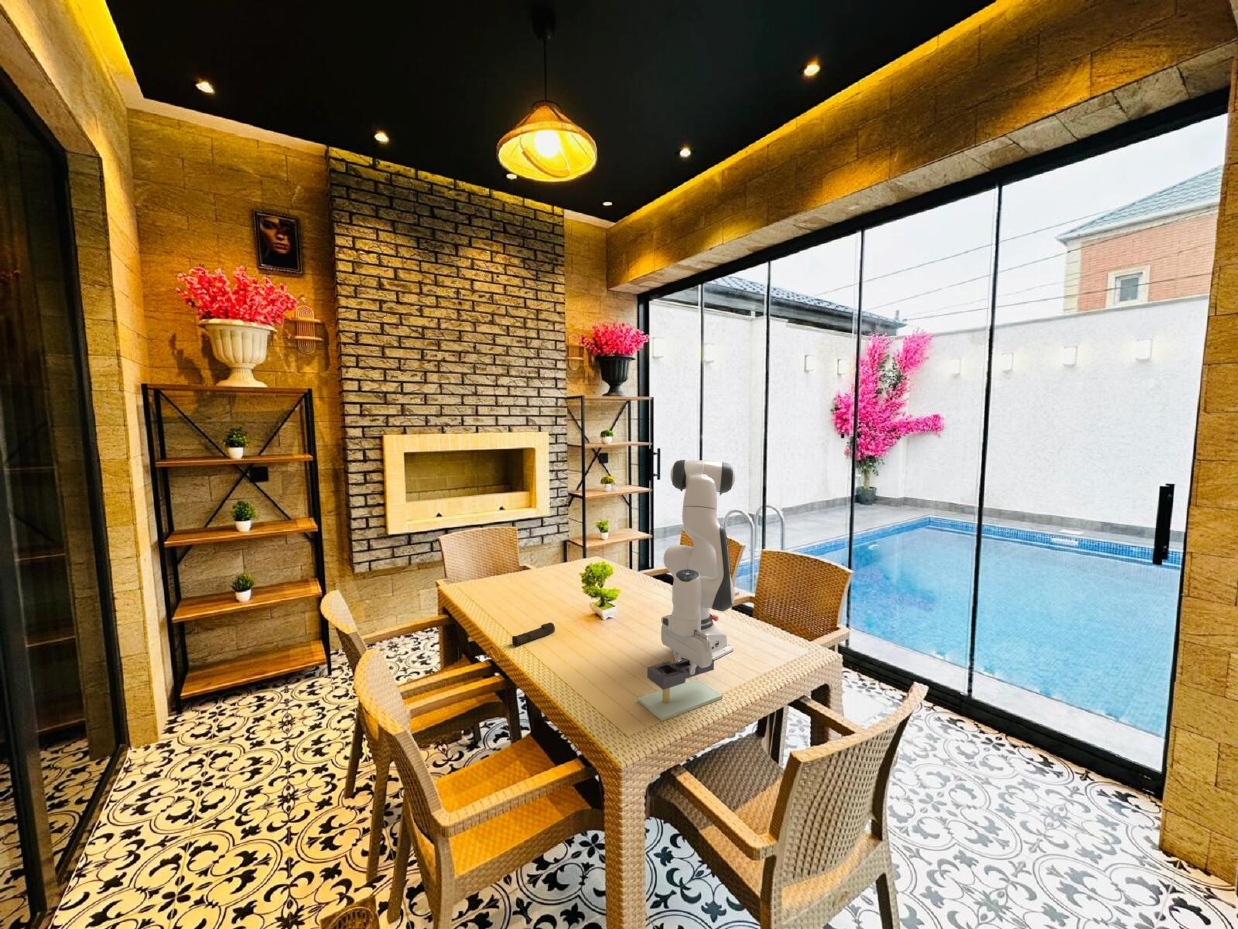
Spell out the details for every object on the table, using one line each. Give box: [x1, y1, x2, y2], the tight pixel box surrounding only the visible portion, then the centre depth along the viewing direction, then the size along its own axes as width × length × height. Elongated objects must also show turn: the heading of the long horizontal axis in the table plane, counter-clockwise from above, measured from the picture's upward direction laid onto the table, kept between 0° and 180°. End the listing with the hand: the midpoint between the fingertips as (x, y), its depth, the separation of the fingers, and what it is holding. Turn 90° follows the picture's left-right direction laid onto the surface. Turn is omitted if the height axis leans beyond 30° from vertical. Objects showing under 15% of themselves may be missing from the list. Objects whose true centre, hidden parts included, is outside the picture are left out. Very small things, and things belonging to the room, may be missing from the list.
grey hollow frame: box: [646, 659, 715, 690], centre depth 151 cm, size 21×8×3 cm, turn 122°
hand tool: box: [511, 622, 556, 648], centre depth 193 cm, size 19×4×5 cm, turn 132°
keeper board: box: [637, 678, 723, 722], centre depth 151 cm, size 23×12×9 cm, turn 121°
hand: (684, 669), depth 151 cm, fingers closed on grey hollow frame, 4 cm apart
